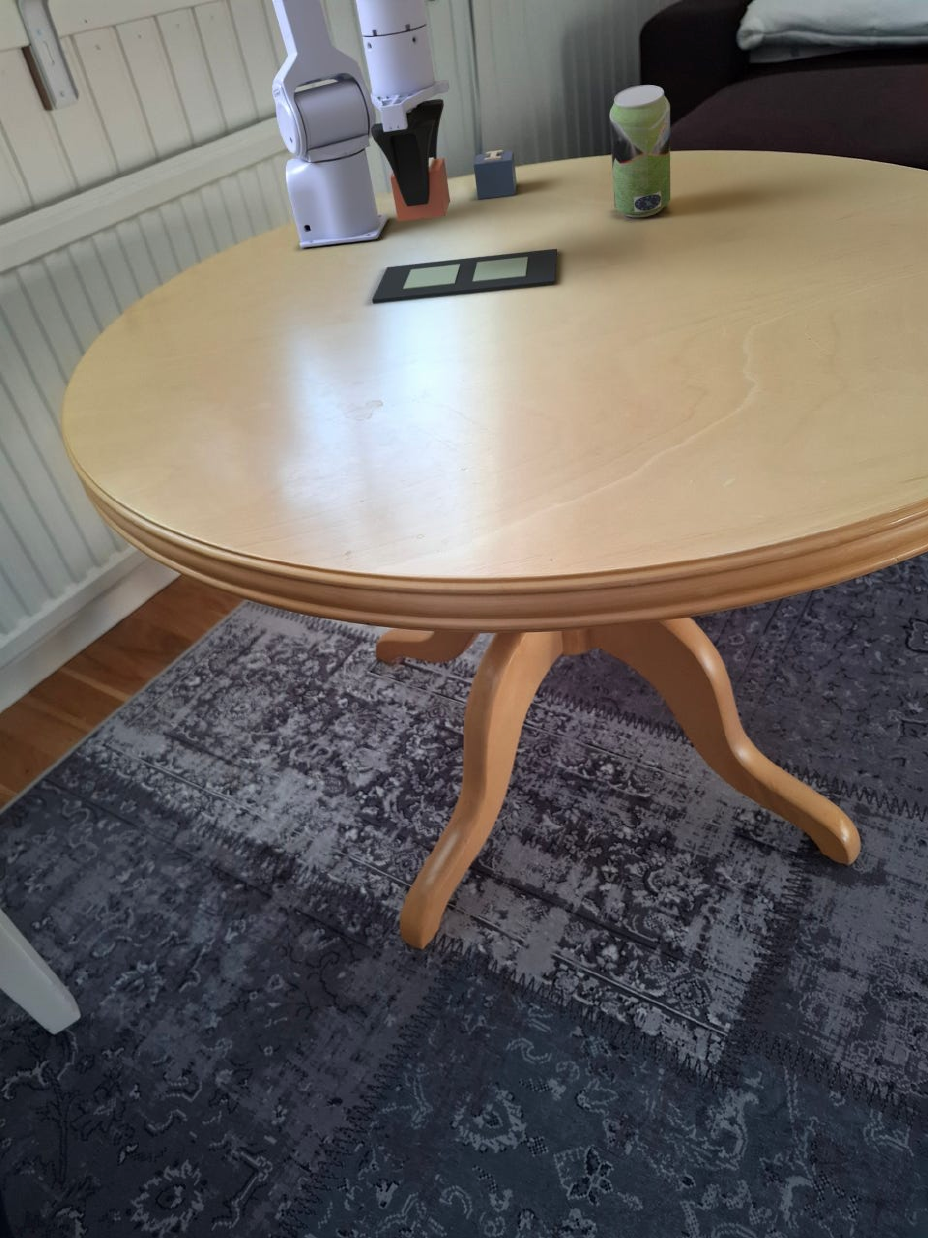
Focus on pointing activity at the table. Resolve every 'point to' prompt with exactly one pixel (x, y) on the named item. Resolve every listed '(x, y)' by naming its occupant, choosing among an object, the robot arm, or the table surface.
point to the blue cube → (495, 174)
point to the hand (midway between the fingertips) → (421, 196)
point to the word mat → (467, 276)
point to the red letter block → (437, 195)
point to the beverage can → (640, 150)
